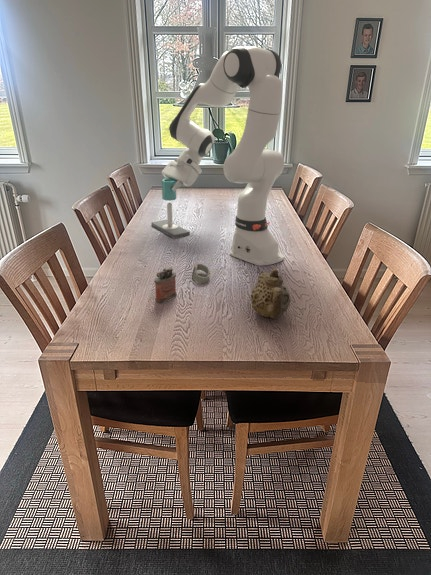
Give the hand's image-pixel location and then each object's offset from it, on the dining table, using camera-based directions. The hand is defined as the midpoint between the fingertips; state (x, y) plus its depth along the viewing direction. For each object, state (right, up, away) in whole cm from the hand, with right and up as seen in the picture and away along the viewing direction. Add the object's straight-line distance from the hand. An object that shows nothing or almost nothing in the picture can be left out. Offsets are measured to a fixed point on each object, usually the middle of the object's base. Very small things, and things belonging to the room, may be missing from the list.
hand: (167, 188), depth 177 cm
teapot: (+36, -51, -55) cm, 83 cm away
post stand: (0, -17, +9) cm, 19 cm away
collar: (0, -4, +2) cm, 5 cm away
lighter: (+5, -46, -47) cm, 66 cm away
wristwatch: (+16, -40, -34) cm, 54 cm away
